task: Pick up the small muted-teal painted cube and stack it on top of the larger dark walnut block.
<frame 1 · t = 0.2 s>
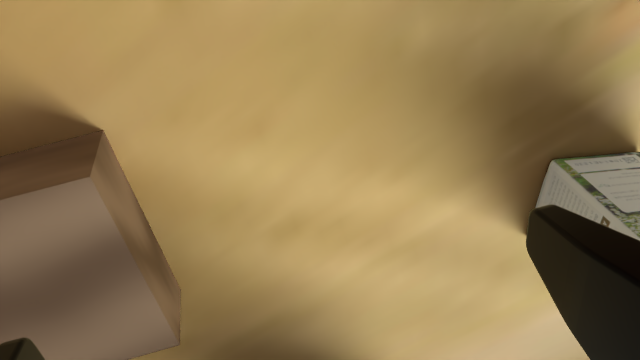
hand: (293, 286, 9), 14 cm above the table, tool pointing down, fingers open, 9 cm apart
syrup box: (578, 192, 30), on the table
walnut block: (43, 242, 25), on the table
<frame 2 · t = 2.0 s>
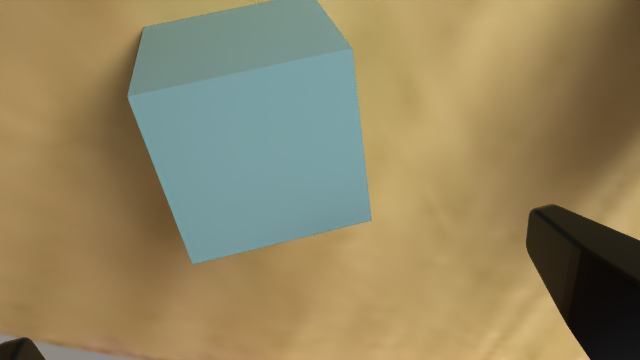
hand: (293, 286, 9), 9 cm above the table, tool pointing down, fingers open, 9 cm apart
teal cube: (247, 86, 17), on the table
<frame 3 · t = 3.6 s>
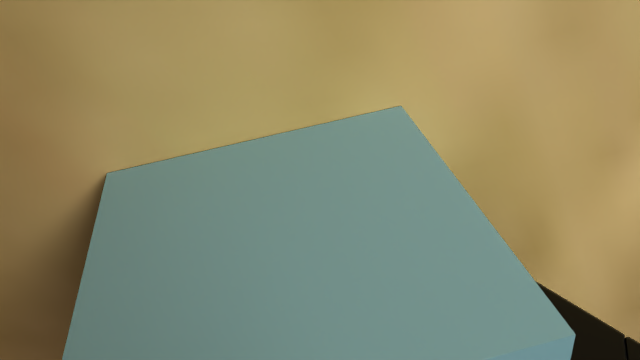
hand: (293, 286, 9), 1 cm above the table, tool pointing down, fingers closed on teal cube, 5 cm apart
teal cube: (284, 248, 10), on the table, touching gripper
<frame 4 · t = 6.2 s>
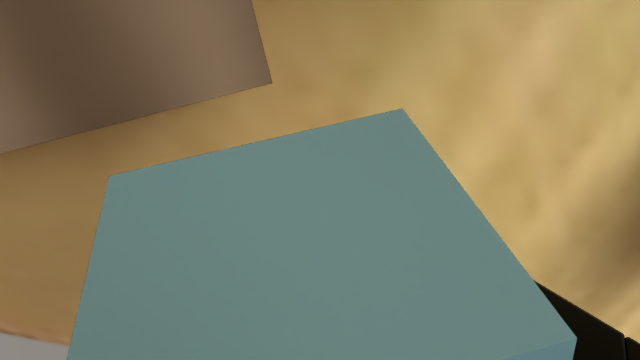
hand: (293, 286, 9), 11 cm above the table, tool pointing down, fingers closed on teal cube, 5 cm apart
teal cube: (286, 250, 10), point 10 cm above the table, touching gripper
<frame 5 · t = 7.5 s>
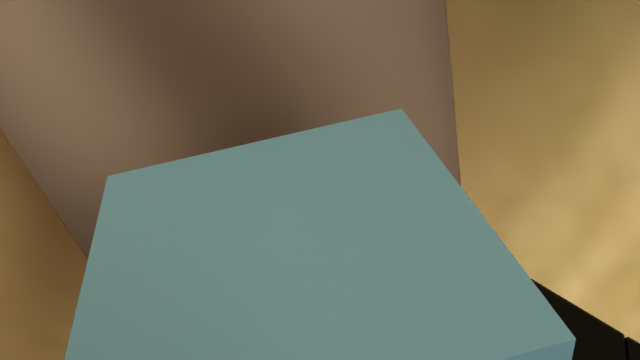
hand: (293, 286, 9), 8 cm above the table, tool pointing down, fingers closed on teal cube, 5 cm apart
teal cube: (285, 251, 10), point 7 cm above the table, touching gripper
walnut block: (246, 95, 16), on the table
when the fingers open (6 cm above the table, at t = 8.7 s): teal cube drops 1 cm, point 4 cm above the table.
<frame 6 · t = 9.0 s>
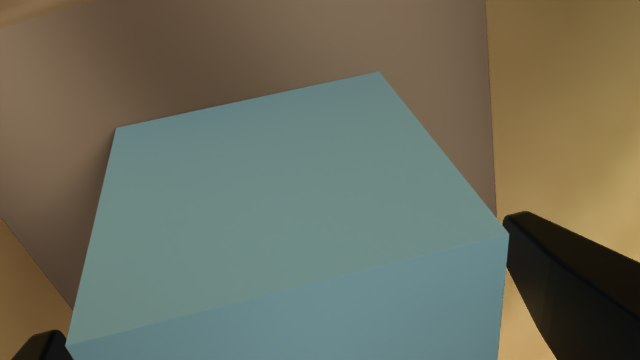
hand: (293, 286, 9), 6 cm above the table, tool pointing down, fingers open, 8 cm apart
teal cube: (275, 203, 11), point 4 cm above the table
walnut block: (255, 123, 15), on the table
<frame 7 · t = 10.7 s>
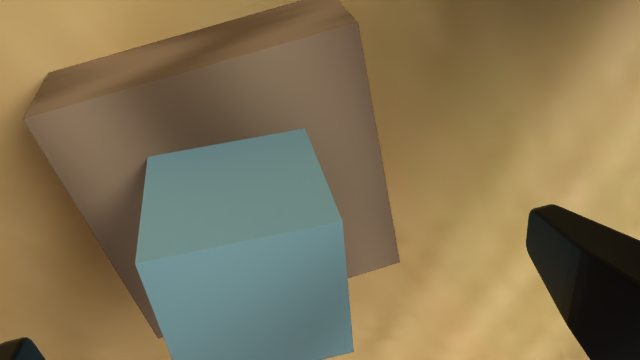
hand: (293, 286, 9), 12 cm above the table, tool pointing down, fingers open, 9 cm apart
teal cube: (241, 205, 18), point 4 cm above the table, touching walnut block
walnut block: (234, 146, 21), on the table, touching teal cube
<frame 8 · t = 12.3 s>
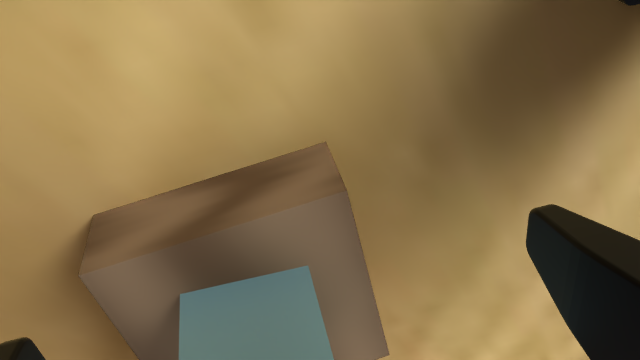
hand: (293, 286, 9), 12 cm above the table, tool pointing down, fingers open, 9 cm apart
teal cube: (256, 322, 22), point 4 cm above the table, touching walnut block
walnut block: (247, 256, 25), on the table, touching teal cube
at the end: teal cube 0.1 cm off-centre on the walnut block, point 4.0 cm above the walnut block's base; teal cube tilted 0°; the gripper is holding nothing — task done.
